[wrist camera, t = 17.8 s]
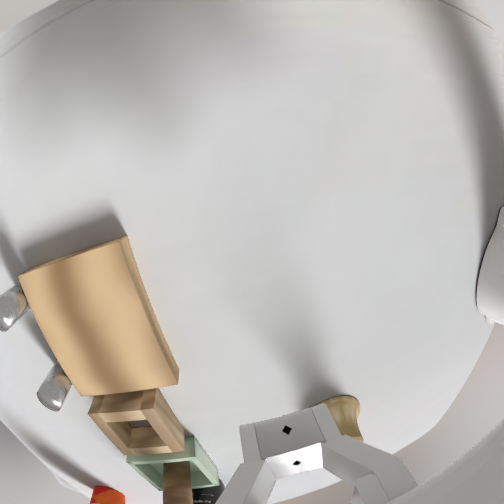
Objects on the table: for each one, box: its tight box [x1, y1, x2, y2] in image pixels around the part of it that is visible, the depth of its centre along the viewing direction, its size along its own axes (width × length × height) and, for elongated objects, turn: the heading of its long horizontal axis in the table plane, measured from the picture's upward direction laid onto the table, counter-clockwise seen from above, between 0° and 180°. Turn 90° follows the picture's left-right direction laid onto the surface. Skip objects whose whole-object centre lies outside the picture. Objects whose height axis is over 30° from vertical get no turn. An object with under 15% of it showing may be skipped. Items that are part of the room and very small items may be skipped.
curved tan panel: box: [18, 236, 179, 396], centre depth 18 cm, size 10×12×2 cm
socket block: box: [88, 388, 185, 455], centre depth 20 cm, size 7×7×3 cm
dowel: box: [163, 460, 193, 504], centre depth 20 cm, size 3×3×9 cm
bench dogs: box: [0, 282, 72, 411], centre depth 16 cm, size 2×10×5 cm, turn 12°
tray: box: [126, 436, 220, 491], centre depth 23 cm, size 8×8×3 cm
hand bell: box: [315, 396, 363, 442], centre depth 19 cm, size 8×8×16 cm
